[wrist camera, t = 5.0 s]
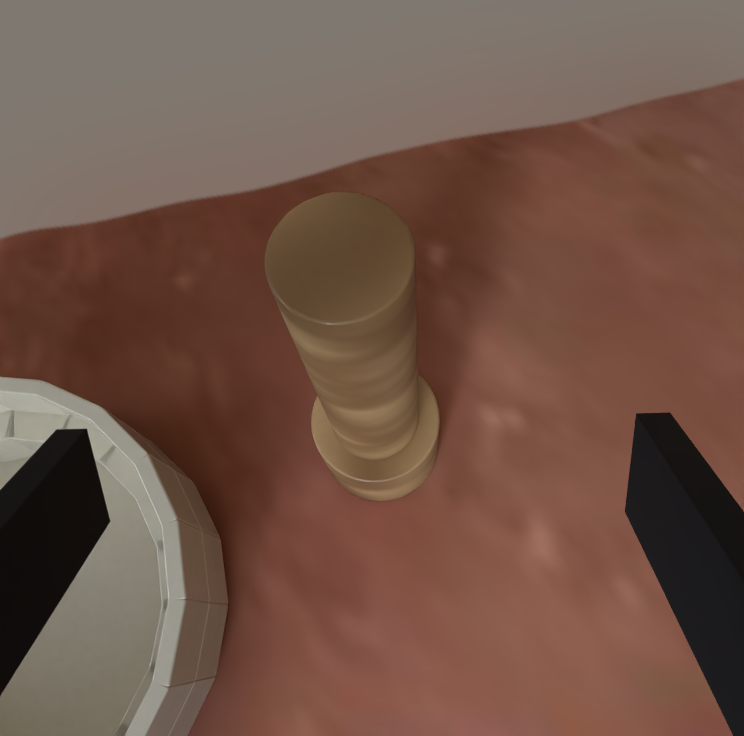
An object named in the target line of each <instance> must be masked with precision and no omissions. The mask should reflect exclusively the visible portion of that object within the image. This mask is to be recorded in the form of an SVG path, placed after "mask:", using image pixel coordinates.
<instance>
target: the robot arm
mask: <svg viewBox="0 0 744 736" xmlns="http://www.w3.org/2000/svg"><path fill="white" fill-rule="evenodd" d="M625 513H626V515H627V517H628V519H629V521H630V523H631V525H632V527H633V529H634V531H635V533H636V536H637V538H638V540H639V542H640V544H641V546H642V548H643V550H644V552H645V554H646V556H647V558H648V560H649V562H650V564H651V567H652V569H653V571H654V573H655V575H656V577H657V579H658V581H659V583H660V585H661V587H662V589H663V591H664V593H665V595H666V598H667V600H668V602H669V604H670V606H671V608H672V610H673V612H674V614H675V616H676V618H677V620H678V622H679V624H680V626H681V629H682V631H683V633H684V635H685V637H686V639H687V641H688V643H689V645H690V647H691V649H692V651H693V653H694V655H695V657H696V660H697V662H698V664H699V666H700V668H701V670H702V672H703V674H704V676H705V678H706V680H707V682H708V684H709V686H710V689H711V691H712V693H713V695H714V697H715V699H716V701H717V703H718V705H719V707H720V709H721V711H722V713H723V715H724V717H725V720H726V722H727V724H728V726H729V728H730V730H731V732H732V734H733V736H744V512H743V510H742V509H741V507H740V506H739V505H738V503H737V502H736V501H735V499H734V498H733V497H732V495H731V494H730V493H729V491H728V490H727V489H726V487H725V486H724V485H723V483H722V482H721V481H720V479H719V478H718V477H717V475H716V474H715V473H714V471H713V470H712V468H711V467H710V466H709V464H708V463H707V462H706V460H705V459H704V458H703V456H702V455H701V454H700V452H699V451H698V450H697V448H696V447H695V446H694V444H693V443H692V442H691V440H690V439H689V438H688V436H687V435H686V434H685V432H684V431H683V430H682V428H681V427H680V425H679V424H678V423H677V421H676V420H675V419H674V417H673V416H672V415H671V413H641V414H636V420H635V429H634V438H633V446H632V455H631V464H630V472H629V481H628V490H627V498H626V507H625ZM109 523H110V518H109V514H108V510H107V506H106V502H105V498H104V494H103V490H102V486H101V482H100V478H99V474H98V470H97V466H96V462H95V459H94V455H93V451H92V447H91V443H90V439H89V435H88V431H87V429H56V430H55V432H54V433H53V434H52V435H51V436H50V437H49V438H48V439H47V440H46V441H45V442H44V443H43V444H42V445H41V447H40V448H39V449H38V450H37V451H36V452H35V453H34V454H33V455H32V456H31V457H30V458H29V459H28V461H27V462H26V463H25V464H24V465H23V466H22V467H21V468H20V469H19V470H18V471H17V472H16V473H15V475H14V476H13V477H12V478H11V479H10V480H9V481H8V482H7V483H6V484H5V485H4V486H3V487H2V488H1V490H0V696H1V694H2V692H3V691H4V689H5V688H6V686H7V685H8V683H9V681H10V680H11V678H12V677H13V675H14V673H15V672H16V670H17V669H18V667H19V666H20V664H21V662H22V661H23V659H24V658H25V656H26V654H27V653H28V651H29V650H30V648H31V646H32V645H33V643H34V642H35V640H36V639H37V637H38V635H39V634H40V632H41V631H42V629H43V627H44V626H45V624H46V623H47V621H48V620H49V618H50V616H51V615H52V613H53V612H54V610H55V608H56V607H57V605H58V604H59V602H60V601H61V599H62V597H63V596H64V594H65V593H66V591H67V589H68V588H69V586H70V585H71V583H72V582H73V580H74V578H75V577H76V575H77V574H78V572H79V570H80V569H81V567H82V566H83V564H84V562H85V561H86V559H87V558H88V556H89V555H90V553H91V551H92V550H93V548H94V547H95V545H96V543H97V542H98V540H99V539H100V537H101V536H102V534H103V532H104V531H105V529H106V528H107V526H108V524H109Z"/></svg>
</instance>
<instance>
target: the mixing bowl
mask: <svg viewBox="0 0 744 736" xmlns="http://www.w3.org/2000/svg"><path fill="white" fill-rule="evenodd" d="M56 429H87V431H88V435H89V439H90V443H91V447H92V451H93V455H94V459H95V462H96V466H97V470H98V474H99V478H100V482H101V486H102V490H103V494H104V498H105V502H106V506H107V510H108V514H109V518H110V523H109V524H108V526H107V528H106V529H105V531H104V532H103V534H102V536H101V537H100V539H99V540H98V542H97V543H96V545H95V547H94V548H93V550H92V551H91V553H90V555H89V556H88V558H87V559H86V561H85V562H84V564H83V566H82V567H81V569H80V570H79V572H78V574H77V575H76V577H75V578H74V580H73V582H72V583H71V585H70V586H69V588H68V589H67V591H66V593H65V594H64V596H63V597H62V599H61V601H60V602H59V604H58V605H57V607H56V608H55V610H54V612H53V613H52V615H51V616H50V618H49V620H48V621H47V623H46V624H45V626H44V627H43V629H42V631H41V632H40V634H39V635H38V637H37V639H36V640H35V642H34V643H33V645H32V646H31V648H30V650H29V651H28V653H27V654H26V656H25V658H24V659H23V661H22V662H21V664H20V666H19V667H18V669H17V670H16V672H15V673H14V675H13V677H12V678H11V680H10V681H9V683H8V685H7V686H6V688H5V689H4V691H3V692H2V694H1V696H0V736H188V734H189V732H190V730H191V728H192V726H193V724H194V721H195V719H196V717H197V715H198V713H199V711H200V709H201V707H202V705H203V703H204V701H205V699H206V697H207V694H208V692H209V690H210V688H211V686H212V684H213V682H214V680H215V676H216V674H217V668H218V662H219V656H220V651H221V645H222V639H223V633H224V627H225V622H226V616H227V610H228V605H227V604H228V596H227V588H226V580H225V572H224V563H223V555H222V547H221V540H220V536H219V534H218V532H217V530H216V528H215V526H214V523H213V521H212V519H211V517H210V515H209V513H208V511H207V509H206V507H205V505H204V502H203V500H202V498H201V496H200V494H199V492H198V490H197V488H196V486H195V484H194V483H193V481H192V480H191V479H190V478H189V477H188V476H187V475H186V474H185V473H184V472H183V471H182V470H181V469H180V468H179V467H178V466H177V465H176V464H175V463H174V462H173V461H172V460H171V459H170V458H169V457H168V456H167V455H166V454H165V453H164V452H163V451H162V450H161V449H160V448H159V447H158V446H157V445H156V444H154V443H153V442H151V441H150V440H149V439H147V438H146V437H144V436H143V435H141V434H140V433H139V432H137V431H136V430H134V429H133V428H131V427H130V426H129V425H127V424H126V423H124V422H123V421H121V420H120V419H119V418H117V417H116V416H114V415H113V414H111V413H110V412H109V411H107V410H106V409H104V408H103V407H101V406H100V405H97V404H95V403H93V402H91V401H88V400H86V399H84V398H82V397H80V396H77V395H75V394H73V393H71V392H69V391H66V390H64V389H62V388H60V387H57V386H55V385H53V384H51V383H49V382H46V381H42V380H36V379H25V378H13V377H1V376H0V490H1V488H2V487H3V486H4V485H5V484H6V483H7V482H8V481H9V480H10V479H11V478H12V477H13V476H14V475H15V473H16V472H17V471H18V470H19V469H20V468H21V467H22V466H23V465H24V464H25V463H26V462H27V461H28V459H29V458H30V457H31V456H32V455H33V454H34V453H35V452H36V451H37V450H38V449H39V448H40V447H41V445H42V444H43V443H44V442H45V441H46V440H47V439H48V438H49V437H50V436H51V435H52V434H53V433H54V432H55V430H56Z"/></svg>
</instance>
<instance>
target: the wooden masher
mask: <svg viewBox="0 0 744 736" xmlns="http://www.w3.org/2000/svg"><path fill="white" fill-rule="evenodd" d="M264 268H265V275H266V279H267V282H268V285H269V287H270V289H271V292H272V294H273V296H274V298H275V301H276V303H277V305H278V307H279V310H280V312H281V314H282V316H283V319H284V321H285V323H286V325H287V328H288V330H289V332H290V334H291V337H292V339H293V341H294V343H295V346H296V348H297V350H298V352H299V355H300V357H301V359H302V361H303V364H304V366H305V368H306V370H307V373H308V375H309V377H310V380H311V382H312V384H313V386H314V389H315V391H316V393H317V397H316V400H315V402H314V406H313V409H312V416H311V428H312V435H313V438H314V442H315V444H316V446H317V449H318V451H319V452H320V454H321V456H322V458H323V459H324V461H325V463H326V465H327V466H328V468H329V470H330V472H331V473H332V475H333V476H334V478H335V479H336V480H337V482H338V483H339V484H340V485H341V486H342V487H343V488H344V489H346V490H347V491H349V492H350V493H352V494H354V495H355V496H358V497H360V498H363V499H367V500H371V501H389V500H394V499H397V498H401V497H403V496H405V495H407V494H409V493H411V492H412V491H414V490H415V489H416V488H418V487H419V486H420V485H421V484H422V483H423V482H424V481H425V480H426V478H427V477H428V475H429V474H430V472H431V470H432V468H433V466H434V463H435V460H436V455H437V448H438V436H439V424H440V416H439V408H438V403H437V401H436V398H435V395H434V393H433V391H432V390H431V388H430V387H429V385H428V384H427V382H426V381H425V380H424V379H423V378H422V377H421V376H420V375H419V374H418V373H417V323H416V263H415V246H414V242H413V238H412V235H411V233H410V230H409V229H408V227H407V225H406V223H405V222H404V221H403V219H402V218H401V217H400V216H399V215H398V214H397V213H396V212H395V211H394V210H393V209H392V208H390V207H389V206H388V205H386V204H385V203H383V202H381V201H380V200H378V199H375V198H373V197H370V196H367V195H364V194H359V193H353V192H334V193H328V194H323V195H319V196H316V197H313V198H311V199H309V200H306V201H304V202H303V203H301V204H299V205H297V206H296V207H295V208H293V209H292V210H291V211H289V212H288V213H287V214H286V215H285V216H284V217H283V218H282V219H281V221H280V222H279V223H278V224H277V226H276V227H275V229H274V230H273V232H272V234H271V236H270V238H269V241H268V244H267V247H266V251H265V257H264Z"/></svg>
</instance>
